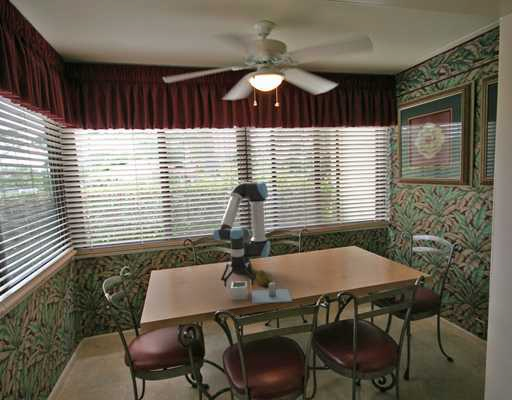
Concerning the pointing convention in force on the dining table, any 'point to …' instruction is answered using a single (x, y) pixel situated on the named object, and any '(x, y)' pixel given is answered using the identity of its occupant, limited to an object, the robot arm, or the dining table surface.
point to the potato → (263, 278)
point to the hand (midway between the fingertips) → (239, 291)
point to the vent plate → (271, 295)
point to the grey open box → (239, 290)
